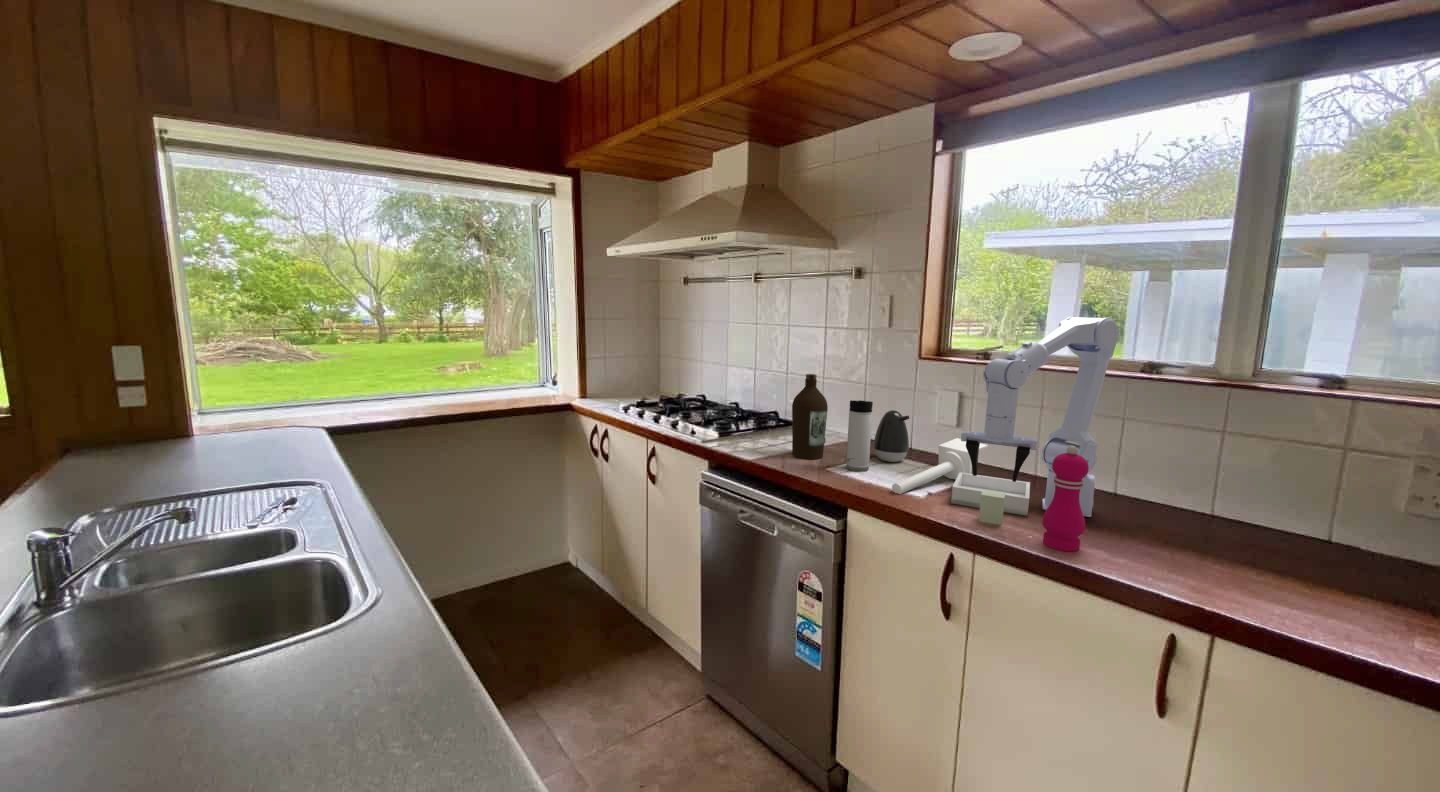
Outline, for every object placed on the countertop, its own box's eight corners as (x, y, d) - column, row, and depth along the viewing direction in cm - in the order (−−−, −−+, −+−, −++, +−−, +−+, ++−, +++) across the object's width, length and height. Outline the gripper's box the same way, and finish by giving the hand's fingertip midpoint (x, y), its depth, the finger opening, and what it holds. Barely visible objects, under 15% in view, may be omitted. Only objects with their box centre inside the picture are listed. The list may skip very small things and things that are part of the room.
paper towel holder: (988, 445, 156) (912, 477, 139) (987, 475, 158) (912, 511, 141) (956, 438, 164) (881, 467, 146) (956, 467, 165) (881, 500, 148)
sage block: (1002, 518, 128) (1005, 492, 127) (1001, 525, 124) (1004, 498, 123) (980, 514, 130) (982, 489, 129) (978, 521, 126) (981, 494, 125)
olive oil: (782, 454, 179) (786, 373, 175) (807, 449, 185) (811, 371, 181) (807, 462, 170) (811, 377, 166) (832, 457, 177) (836, 375, 173)
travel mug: (845, 471, 162) (849, 400, 159) (846, 464, 168) (850, 396, 165) (868, 472, 161) (873, 401, 157) (868, 466, 167) (872, 398, 164)
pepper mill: (1031, 540, 116) (1042, 442, 113) (1057, 536, 118) (1069, 440, 115) (1064, 555, 109) (1076, 451, 106) (1091, 550, 112) (1104, 448, 108)
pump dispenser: (895, 466, 168) (899, 414, 165) (865, 458, 175) (868, 409, 173) (915, 461, 174) (919, 411, 172) (885, 454, 182) (889, 406, 179)
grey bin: (1028, 498, 142) (1030, 482, 141) (1027, 515, 130) (1029, 498, 129) (958, 487, 149) (959, 472, 149) (951, 503, 137) (952, 486, 136)
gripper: (961, 414, 123) (956, 476, 125) (1039, 422, 116) (1032, 488, 118) (965, 409, 129) (960, 469, 131) (1039, 417, 122) (1032, 479, 125)
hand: (994, 477), depth 125 cm, fingers open, 7 cm apart
